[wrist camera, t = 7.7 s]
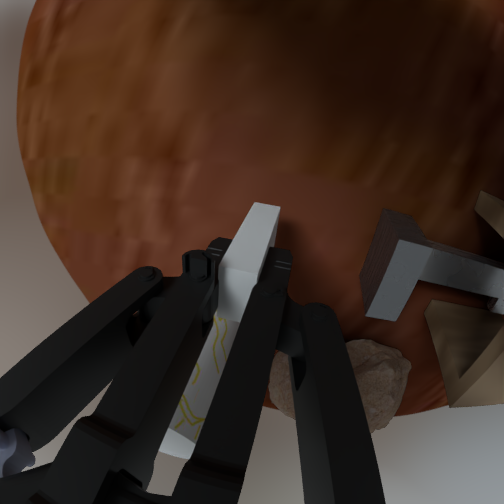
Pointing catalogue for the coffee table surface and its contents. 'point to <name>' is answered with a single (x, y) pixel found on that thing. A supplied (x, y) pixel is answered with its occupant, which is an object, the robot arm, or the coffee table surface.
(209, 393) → the cup
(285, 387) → the stone
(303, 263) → the coffee table surface
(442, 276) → the grey square dumbbell
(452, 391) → the tunnel
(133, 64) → the coffee table surface
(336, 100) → the coffee table surface
